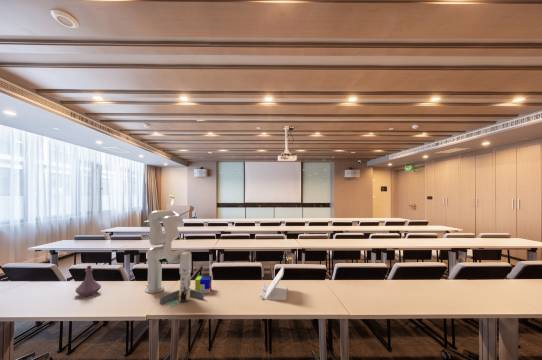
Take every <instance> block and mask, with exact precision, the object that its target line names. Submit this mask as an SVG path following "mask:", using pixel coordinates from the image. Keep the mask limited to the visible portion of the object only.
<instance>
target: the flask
mask: <svg viewBox="0 0 542 360" xmlns="http://www.w3.org/2000/svg"><path fill="white" fill-rule="evenodd" d="M93 271H94V269H93V268H92V265H87V267H86V269H85V270H84V272H85V277H84V280H82V282H81V283H80V284H79V285H78V286H77V287H76V289H75V293H76V294H78V295H79V296H80V297H83V298H84V297H85V298H86V297H91V296H94V295H96V294H98V292H99V291H100V289H101V288H102V285H101V284H100V283H98V282H97V281H96V280H95V279H94V276H93Z"/></svg>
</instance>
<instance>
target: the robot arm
mask: <svg viewBox="0 0 542 360" xmlns="http://www.w3.org/2000/svg"><path fill="white" fill-rule="evenodd" d="M183 223H184V221H183V217H182V216H181V215H180V214H179V213H177V212H176V211H174V210H173V209H165V210H164V209H163V210H161V209H160V210H153V211H151V212H150V213H149V216H148V224H149V244H150V245H151V246H154V247H150V248H149V249H148V250H147V252H146V258H147V283H146V284H145V286H146V288H145V292H146V293H150V294H155V293H159V292H162V291H163V290H164V286H162V279H163V277H162V276H163V275H162V271H163V269H162V263H161V261H160V260H163V259H165V260H166V261H167V263H168V264H174V263H178V262H179V275H180V278H179V280H180V282H179V283H180V284H179V287H180V288H179V290H180V289H181V300H180V301H187V300H186V289H188V288H191V287H190V286H191V273H192V251H191V252H190V251H187V250H185V249H178V250H173V251H172V242H173V241H175V240H176V239H178V238H179V237H180V232H179V229H178V227H181V226H182V225H183ZM163 229H164V231H163ZM184 288H185V289H184ZM184 290H185V291H184Z"/></svg>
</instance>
